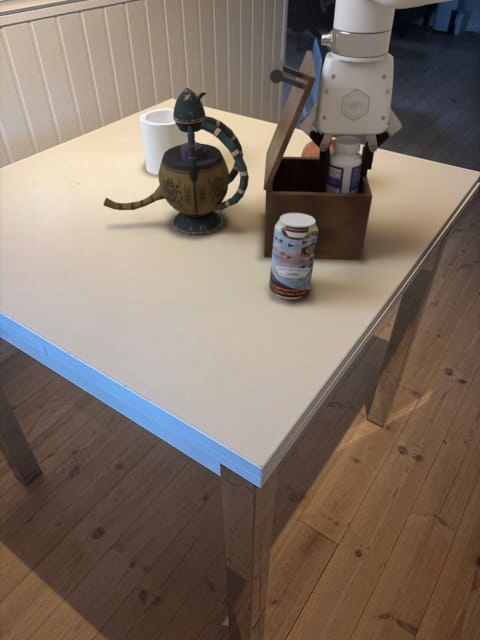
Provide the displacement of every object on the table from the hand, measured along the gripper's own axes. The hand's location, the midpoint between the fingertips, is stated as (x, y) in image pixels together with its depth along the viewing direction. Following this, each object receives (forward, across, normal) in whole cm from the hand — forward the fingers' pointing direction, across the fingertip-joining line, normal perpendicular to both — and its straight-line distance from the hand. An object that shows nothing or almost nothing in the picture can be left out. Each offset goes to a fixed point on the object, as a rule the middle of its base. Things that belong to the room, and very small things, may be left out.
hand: (343, 172), depth 77 cm
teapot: (+12, -28, +3) cm, 31 cm away
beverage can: (+12, -8, -15) cm, 21 cm away
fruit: (+12, -1, +20) cm, 24 cm away
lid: (-8, -9, 0) cm, 12 cm away
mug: (+12, -34, +29) cm, 47 cm away
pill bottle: (+4, 0, 0) cm, 4 cm away
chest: (+12, -4, 0) cm, 13 cm away
